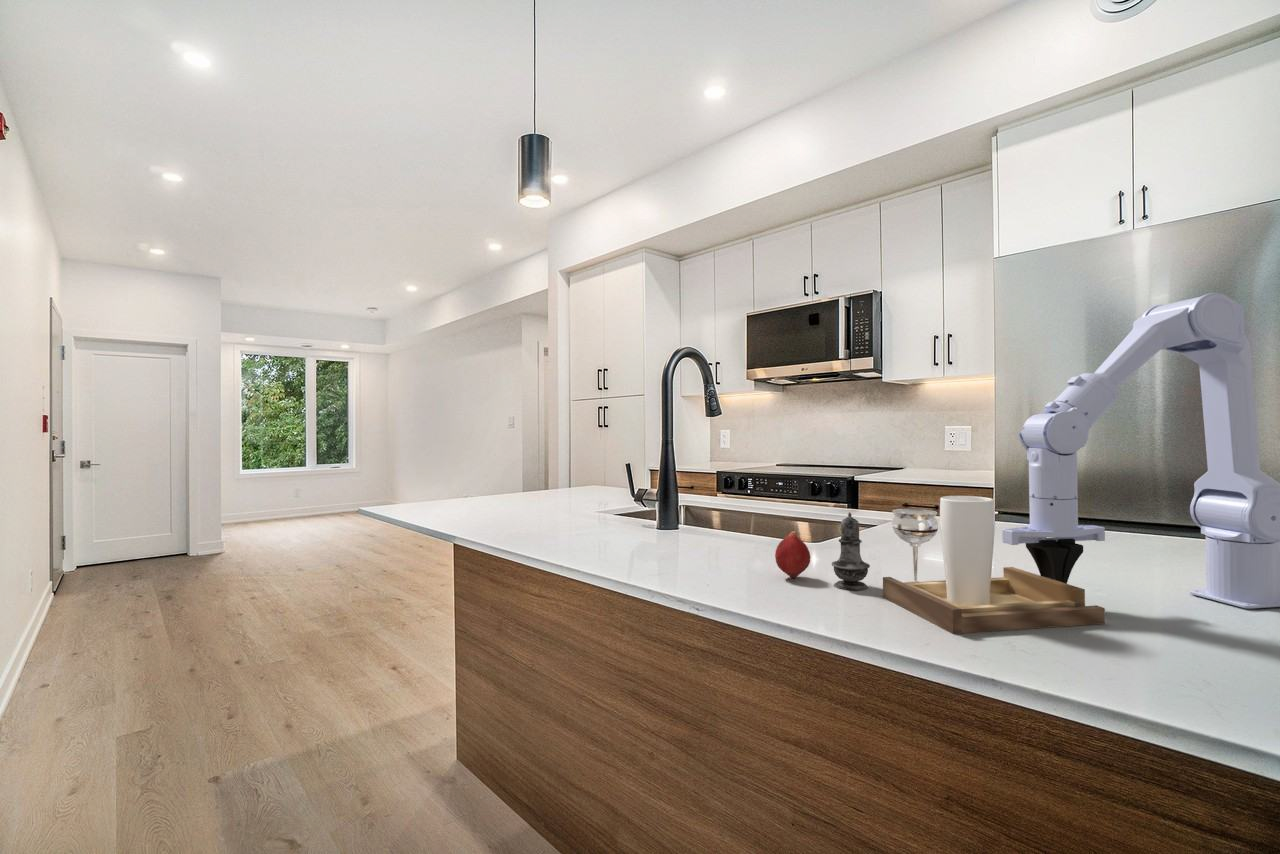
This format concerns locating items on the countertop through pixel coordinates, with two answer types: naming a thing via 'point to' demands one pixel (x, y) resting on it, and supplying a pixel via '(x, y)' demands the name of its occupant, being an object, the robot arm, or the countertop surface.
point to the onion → (792, 555)
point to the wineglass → (915, 529)
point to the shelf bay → (985, 621)
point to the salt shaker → (850, 558)
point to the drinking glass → (967, 548)
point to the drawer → (1016, 593)
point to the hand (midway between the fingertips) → (1054, 592)
